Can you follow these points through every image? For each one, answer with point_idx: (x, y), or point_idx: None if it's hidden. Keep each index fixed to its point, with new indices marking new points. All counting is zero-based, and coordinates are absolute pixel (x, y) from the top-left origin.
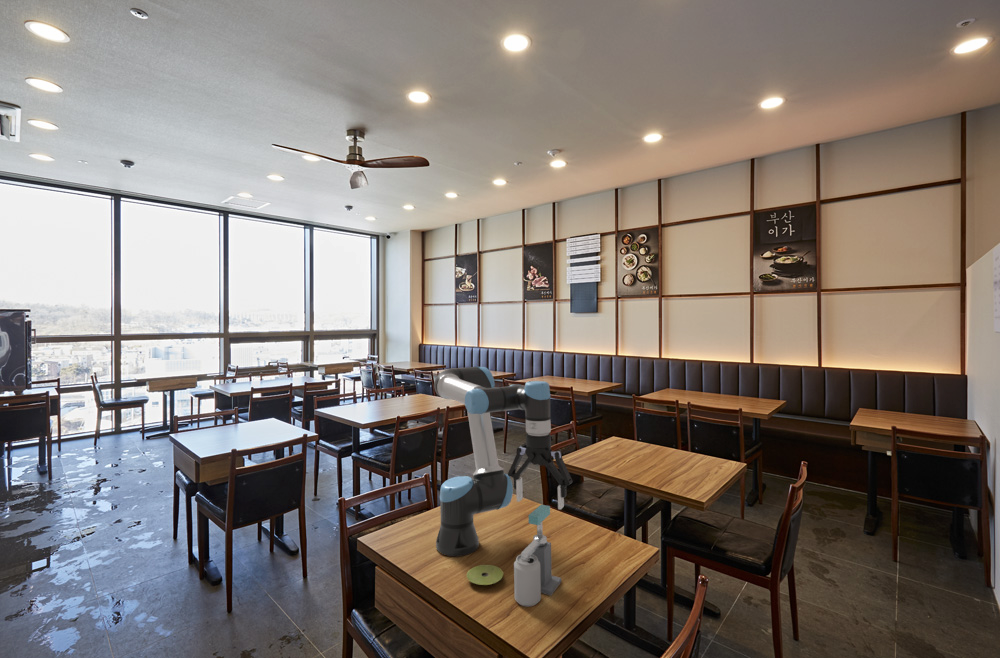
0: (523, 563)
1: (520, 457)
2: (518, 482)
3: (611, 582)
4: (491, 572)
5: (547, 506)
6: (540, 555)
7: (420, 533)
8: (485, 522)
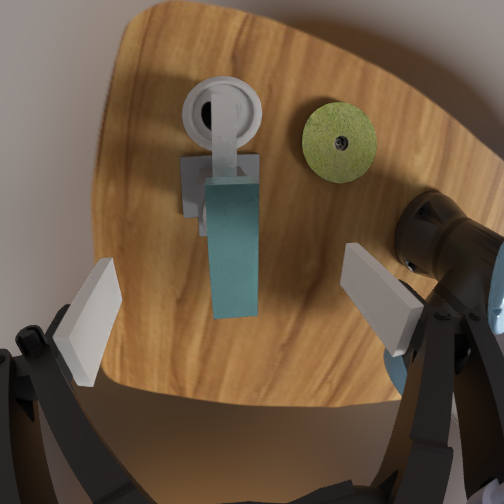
0: (219, 82)
1: (483, 458)
2: (402, 301)
3: None
4: (332, 155)
5: (222, 312)
6: None
7: None
8: None
